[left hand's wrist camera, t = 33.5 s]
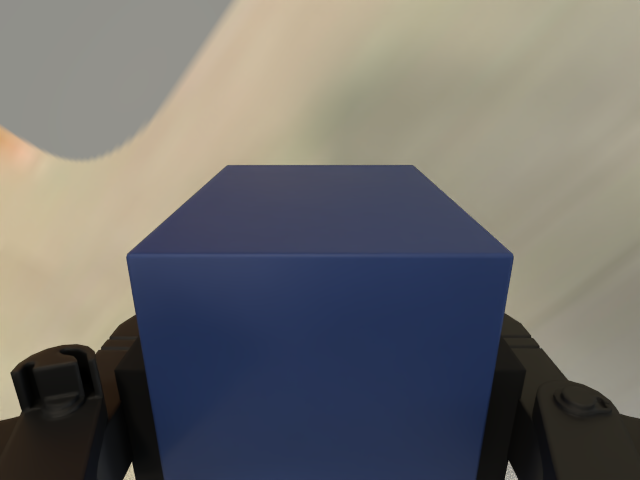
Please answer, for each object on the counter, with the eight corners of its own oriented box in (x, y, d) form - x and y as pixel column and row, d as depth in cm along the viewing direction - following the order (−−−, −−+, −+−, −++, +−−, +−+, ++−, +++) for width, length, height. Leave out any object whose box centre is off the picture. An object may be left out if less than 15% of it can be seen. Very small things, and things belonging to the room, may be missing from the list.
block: (241, 361, 16) (179, 578, 9) (226, 164, 13) (123, 254, 6) (399, 361, 16) (460, 578, 9) (413, 164, 13) (516, 253, 6)
